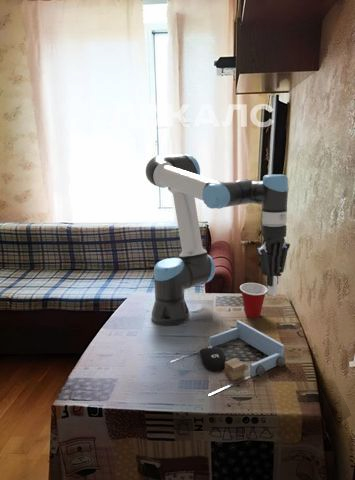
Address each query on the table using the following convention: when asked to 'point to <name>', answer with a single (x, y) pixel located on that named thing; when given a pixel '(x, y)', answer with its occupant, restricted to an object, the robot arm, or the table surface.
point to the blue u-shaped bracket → (256, 340)
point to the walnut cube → (234, 368)
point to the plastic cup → (253, 298)
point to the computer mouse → (213, 358)
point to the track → (223, 387)
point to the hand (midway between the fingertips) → (272, 294)
